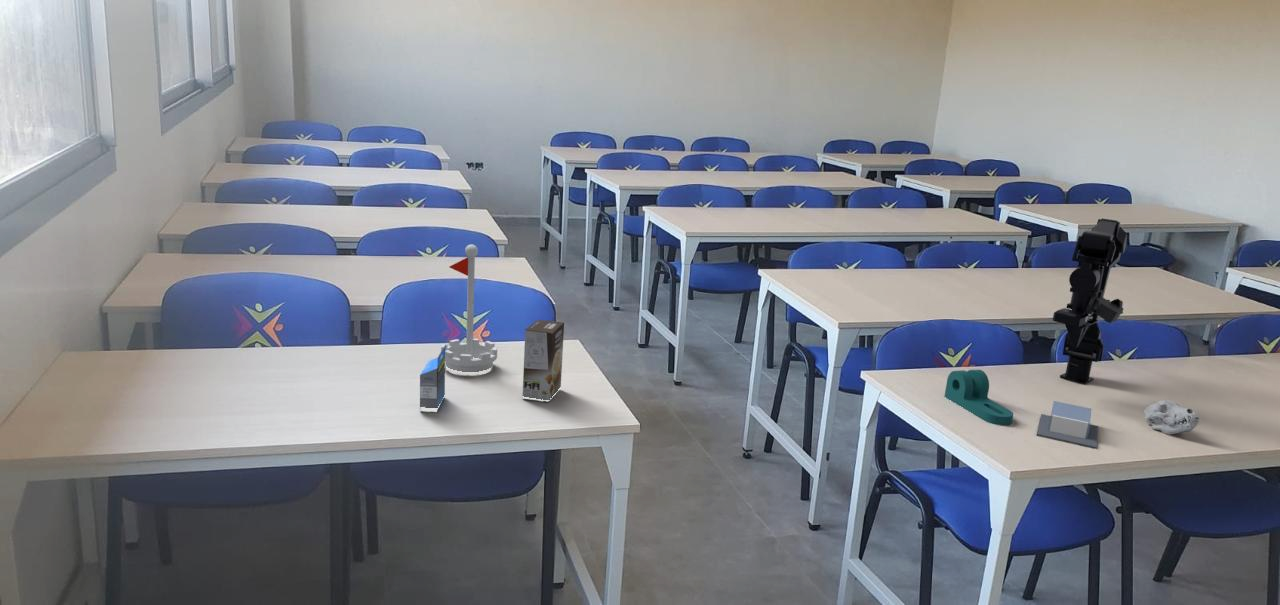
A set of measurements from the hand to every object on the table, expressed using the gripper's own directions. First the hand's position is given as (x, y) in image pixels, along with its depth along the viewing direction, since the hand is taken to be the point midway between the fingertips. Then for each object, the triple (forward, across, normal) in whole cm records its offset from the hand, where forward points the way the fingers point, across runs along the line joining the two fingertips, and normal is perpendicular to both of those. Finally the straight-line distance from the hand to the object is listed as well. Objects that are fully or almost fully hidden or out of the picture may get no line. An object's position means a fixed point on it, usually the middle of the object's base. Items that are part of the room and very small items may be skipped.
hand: (1074, 346), depth 227 cm
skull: (+13, -2, -24) cm, 27 cm away
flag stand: (+13, -111, +95) cm, 147 cm away
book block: (+11, -16, -8) cm, 20 cm away
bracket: (+14, -28, +8) cm, 32 cm away
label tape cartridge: (+13, -130, +80) cm, 153 cm away
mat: (+13, -23, -10) cm, 28 cm away
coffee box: (+13, -107, +72) cm, 130 cm away
